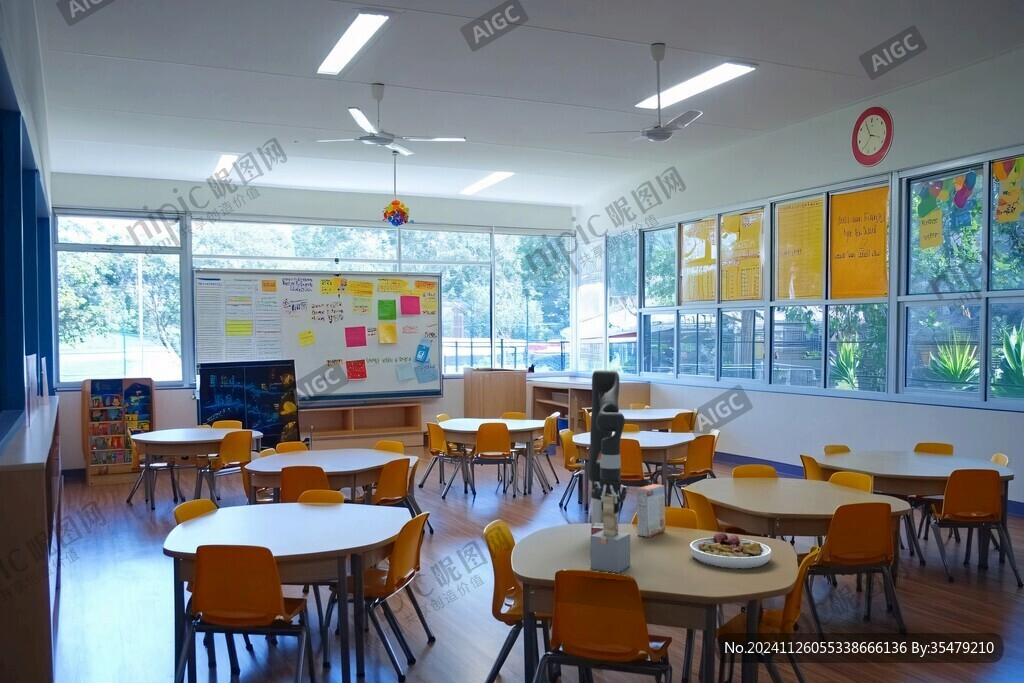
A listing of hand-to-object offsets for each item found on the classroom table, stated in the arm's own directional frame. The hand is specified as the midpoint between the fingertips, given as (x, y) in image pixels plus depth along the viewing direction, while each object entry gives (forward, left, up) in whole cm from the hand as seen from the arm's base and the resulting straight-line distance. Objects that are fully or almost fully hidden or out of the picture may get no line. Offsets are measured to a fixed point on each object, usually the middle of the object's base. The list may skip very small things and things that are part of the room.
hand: (610, 512), depth 278 cm
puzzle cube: (-20, -12, -21) cm, 31 cm away
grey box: (0, 0, -20) cm, 20 cm away
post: (0, 0, -18) cm, 18 cm away
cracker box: (-56, -7, -21) cm, 60 cm away
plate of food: (-35, +34, -21) cm, 53 cm away
